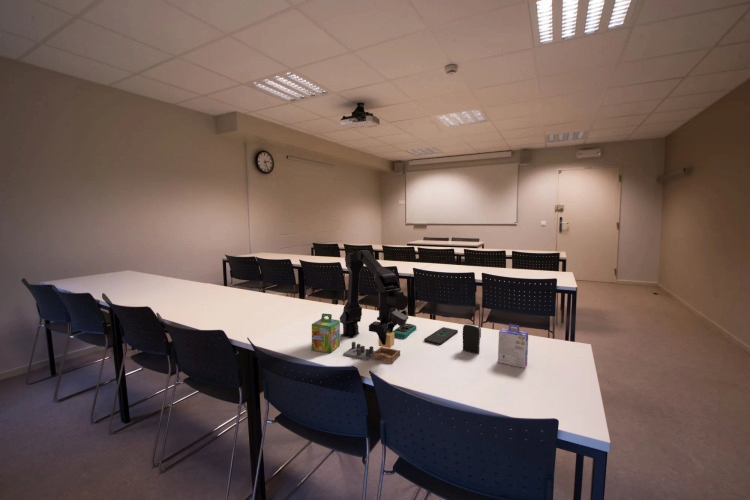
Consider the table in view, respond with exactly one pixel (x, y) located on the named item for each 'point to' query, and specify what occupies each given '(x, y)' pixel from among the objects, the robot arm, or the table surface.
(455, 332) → the smart home device
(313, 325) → the chalk box
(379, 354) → the brown square tray
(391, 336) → the tan cardboard cube
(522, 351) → the ink cartridge box
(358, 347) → the board
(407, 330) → the digital multimeter
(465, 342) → the battery charger
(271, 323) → the table surface
